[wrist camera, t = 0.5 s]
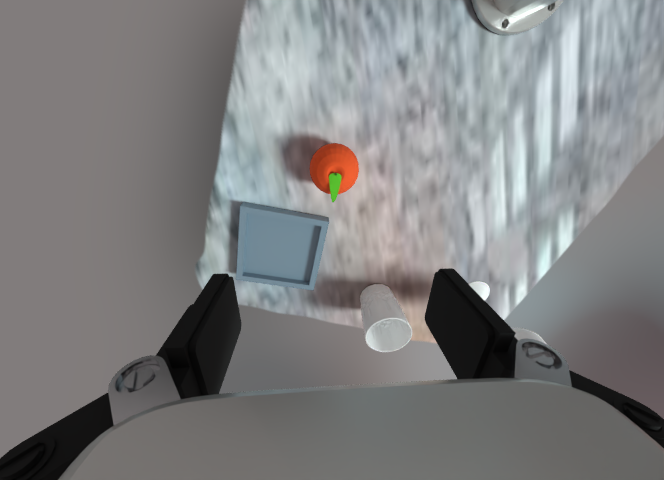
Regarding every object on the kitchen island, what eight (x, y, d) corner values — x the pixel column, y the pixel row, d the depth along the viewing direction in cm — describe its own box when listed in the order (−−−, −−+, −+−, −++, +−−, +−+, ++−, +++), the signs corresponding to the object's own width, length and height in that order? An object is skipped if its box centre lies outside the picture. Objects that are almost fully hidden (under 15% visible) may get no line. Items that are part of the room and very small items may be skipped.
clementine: (352, 194, 40) (359, 209, 34) (309, 193, 40) (308, 207, 33) (357, 142, 37) (365, 147, 30) (310, 140, 36) (308, 144, 30)
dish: (243, 201, 40) (240, 205, 38) (328, 217, 42) (329, 221, 40) (239, 273, 46) (236, 279, 44) (313, 283, 48) (313, 290, 46)
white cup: (364, 316, 52) (373, 357, 43) (351, 289, 49) (358, 327, 40) (399, 304, 51) (417, 343, 42) (389, 275, 48) (405, 311, 39)
